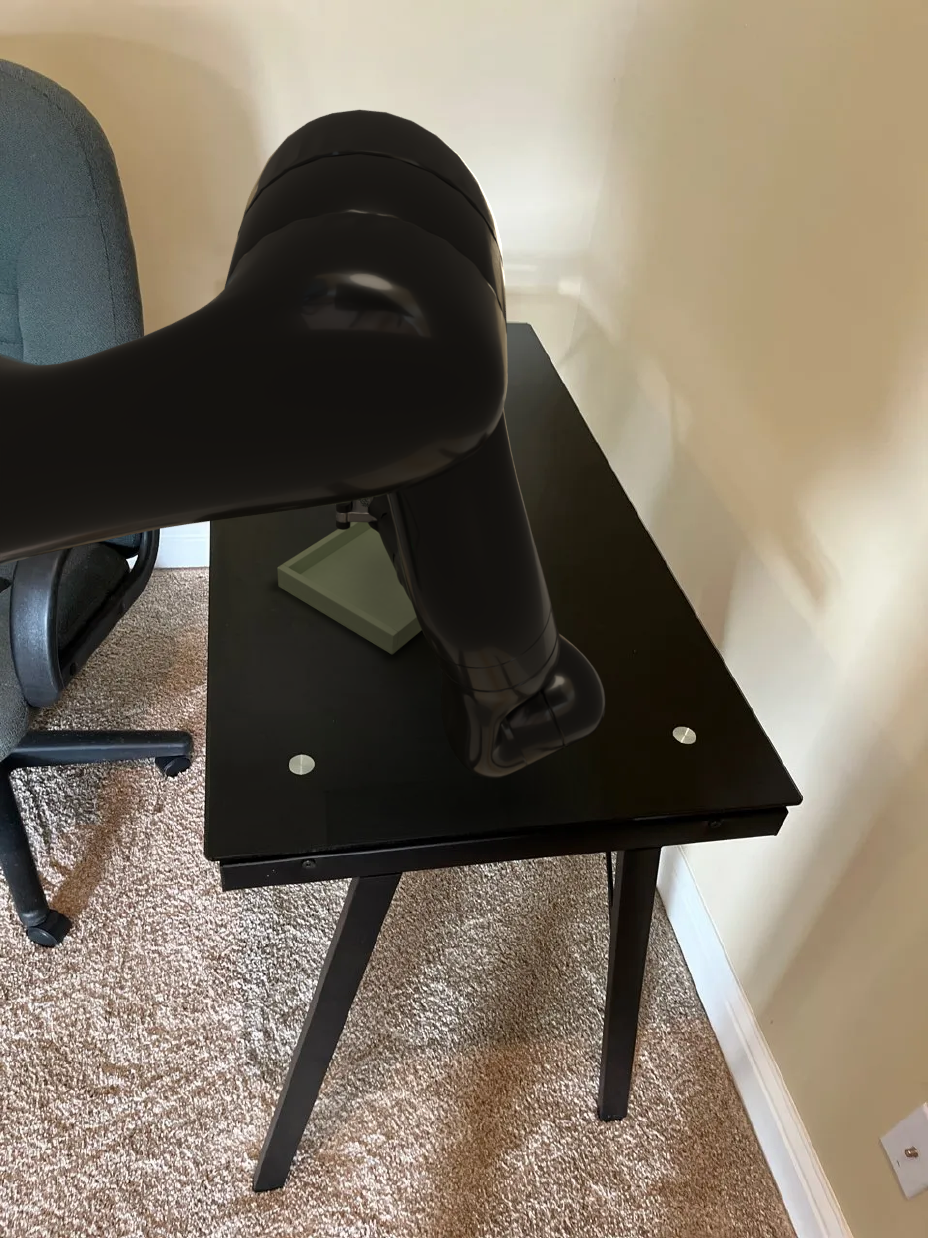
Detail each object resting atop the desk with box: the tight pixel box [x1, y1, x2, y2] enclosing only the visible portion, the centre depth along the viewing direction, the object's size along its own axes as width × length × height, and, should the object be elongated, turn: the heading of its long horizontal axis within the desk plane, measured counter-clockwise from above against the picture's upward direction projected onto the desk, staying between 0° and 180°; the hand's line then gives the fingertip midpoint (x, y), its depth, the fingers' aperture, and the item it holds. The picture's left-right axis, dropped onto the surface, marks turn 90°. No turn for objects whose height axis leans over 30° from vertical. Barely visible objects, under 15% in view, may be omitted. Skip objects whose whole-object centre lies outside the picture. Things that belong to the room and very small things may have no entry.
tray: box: [276, 522, 422, 655], centre depth 90 cm, size 20×16×3 cm
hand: (383, 448), depth 77 cm, fingers closed on milkshake, 4 cm apart
